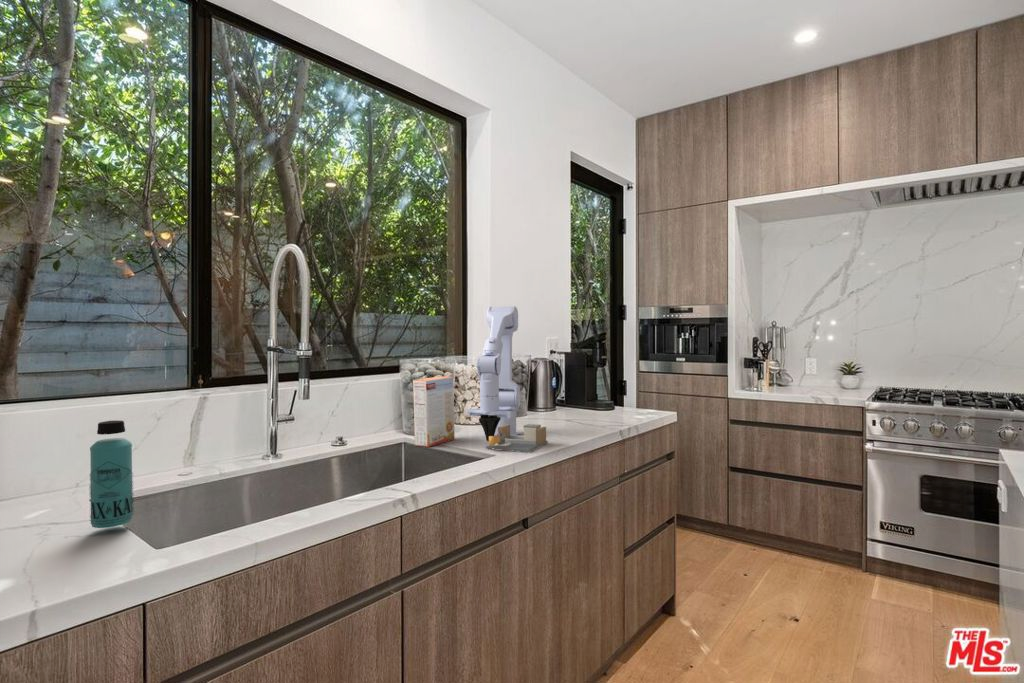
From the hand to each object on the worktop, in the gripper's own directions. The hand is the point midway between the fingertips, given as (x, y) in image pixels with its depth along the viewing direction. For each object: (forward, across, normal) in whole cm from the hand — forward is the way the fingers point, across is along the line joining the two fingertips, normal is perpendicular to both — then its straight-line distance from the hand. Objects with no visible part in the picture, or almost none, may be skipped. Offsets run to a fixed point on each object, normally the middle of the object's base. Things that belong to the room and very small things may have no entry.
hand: (490, 440), depth 168 cm
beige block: (+2, +9, +11) cm, 14 cm away
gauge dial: (+3, +2, +4) cm, 5 cm away
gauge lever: (+1, +2, 0) cm, 2 cm away
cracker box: (+3, -21, +2) cm, 22 cm away
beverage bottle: (+3, -33, -88) cm, 94 cm away
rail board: (+3, +6, +8) cm, 10 cm away
